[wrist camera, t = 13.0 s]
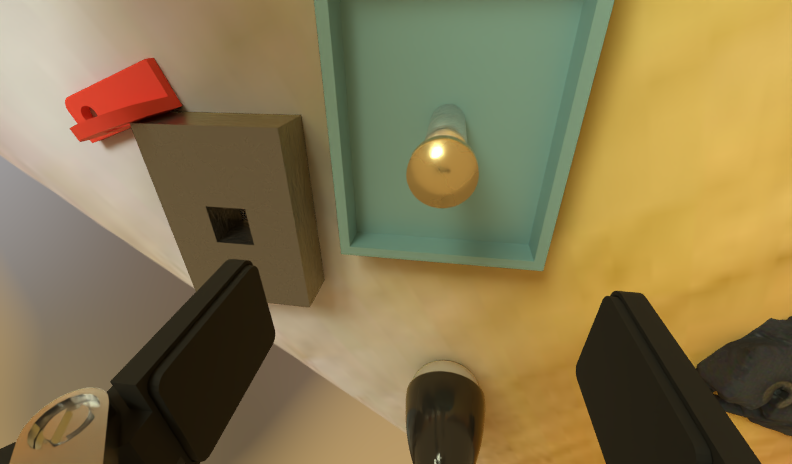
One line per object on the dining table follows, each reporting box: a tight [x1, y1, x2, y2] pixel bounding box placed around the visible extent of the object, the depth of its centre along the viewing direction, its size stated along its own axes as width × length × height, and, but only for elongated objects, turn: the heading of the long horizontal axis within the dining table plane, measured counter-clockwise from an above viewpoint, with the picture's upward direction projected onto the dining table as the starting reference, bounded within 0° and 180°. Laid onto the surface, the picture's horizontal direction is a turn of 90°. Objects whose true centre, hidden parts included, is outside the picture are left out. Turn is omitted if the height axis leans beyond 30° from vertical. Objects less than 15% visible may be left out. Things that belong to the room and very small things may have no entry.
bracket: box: [65, 58, 182, 143], centre depth 32 cm, size 12×4×8 cm, turn 109°
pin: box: [406, 104, 479, 208], centre depth 25 cm, size 4×4×13 cm
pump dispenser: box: [406, 360, 485, 464], centre depth 42 cm, size 10×10×15 cm
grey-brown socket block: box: [130, 111, 324, 307], centre depth 37 cm, size 20×14×5 cm
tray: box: [314, 0, 614, 271], centre depth 29 cm, size 26×20×4 cm
